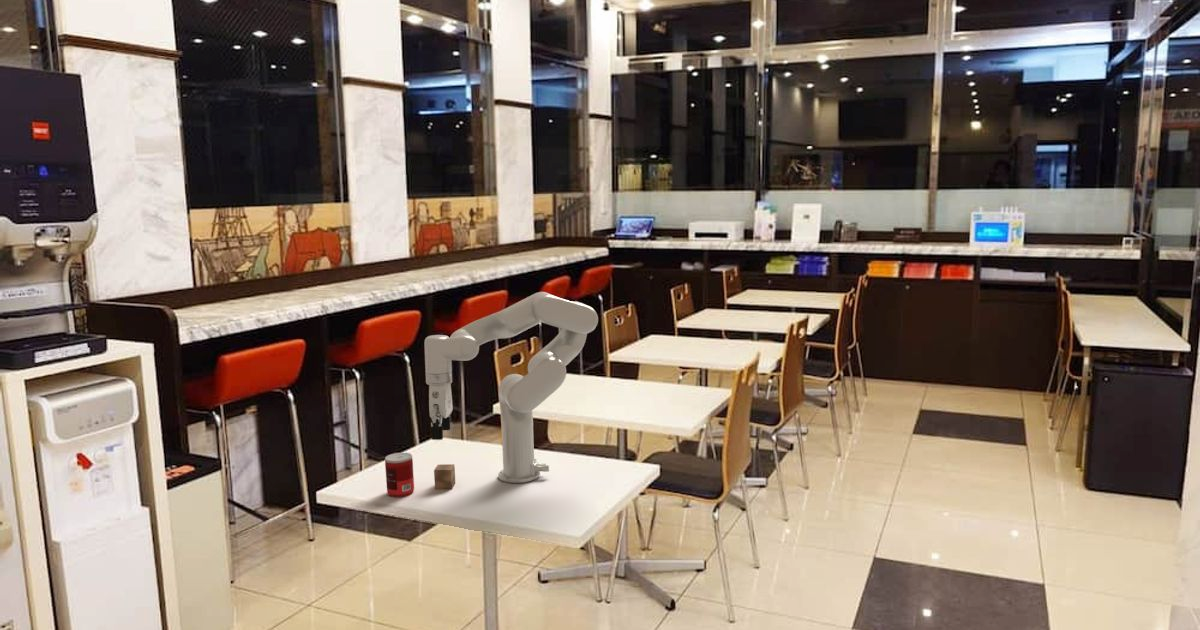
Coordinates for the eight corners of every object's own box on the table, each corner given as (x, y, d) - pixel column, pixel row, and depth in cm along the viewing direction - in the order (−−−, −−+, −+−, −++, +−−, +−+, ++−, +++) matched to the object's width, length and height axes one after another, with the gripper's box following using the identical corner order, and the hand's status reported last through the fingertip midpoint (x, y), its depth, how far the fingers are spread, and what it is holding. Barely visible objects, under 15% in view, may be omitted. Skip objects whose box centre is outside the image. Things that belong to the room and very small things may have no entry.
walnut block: (455, 483, 258) (454, 464, 257) (451, 489, 253) (450, 469, 252) (438, 483, 258) (437, 464, 257) (435, 489, 253) (434, 470, 252)
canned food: (417, 488, 254) (415, 452, 253) (409, 498, 246) (407, 461, 245) (392, 487, 255) (390, 452, 253) (383, 497, 247) (380, 460, 246)
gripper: (445, 384, 241) (447, 443, 244) (457, 371, 258) (459, 426, 261) (418, 384, 242) (421, 443, 244) (433, 371, 259) (435, 426, 261)
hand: (441, 434), depth 253 cm, fingers open, 9 cm apart
